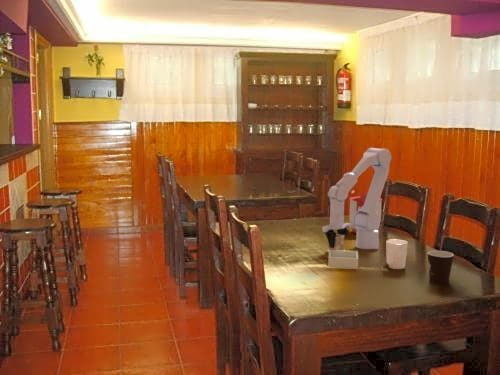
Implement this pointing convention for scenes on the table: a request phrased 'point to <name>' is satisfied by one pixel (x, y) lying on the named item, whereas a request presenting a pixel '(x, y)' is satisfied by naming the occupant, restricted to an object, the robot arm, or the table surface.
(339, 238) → the socket block
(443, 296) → the table surface
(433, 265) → the coffee mug
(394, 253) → the white cup
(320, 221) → the table surface
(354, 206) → the citrus juicer
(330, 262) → the bin
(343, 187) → the robot arm
